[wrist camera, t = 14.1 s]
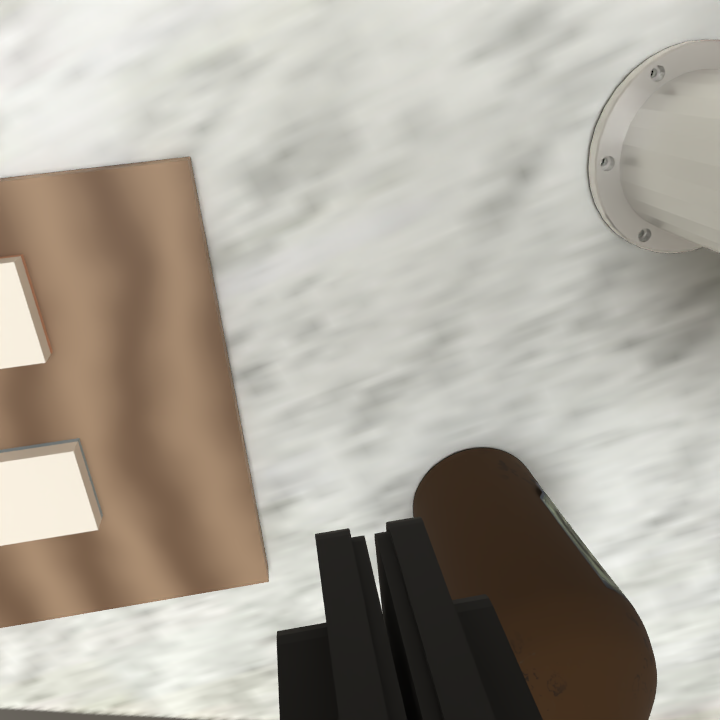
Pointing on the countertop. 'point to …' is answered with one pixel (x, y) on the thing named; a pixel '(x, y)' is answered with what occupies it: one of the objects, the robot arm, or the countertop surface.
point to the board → (127, 393)
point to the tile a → (20, 317)
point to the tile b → (46, 492)
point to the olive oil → (538, 587)
